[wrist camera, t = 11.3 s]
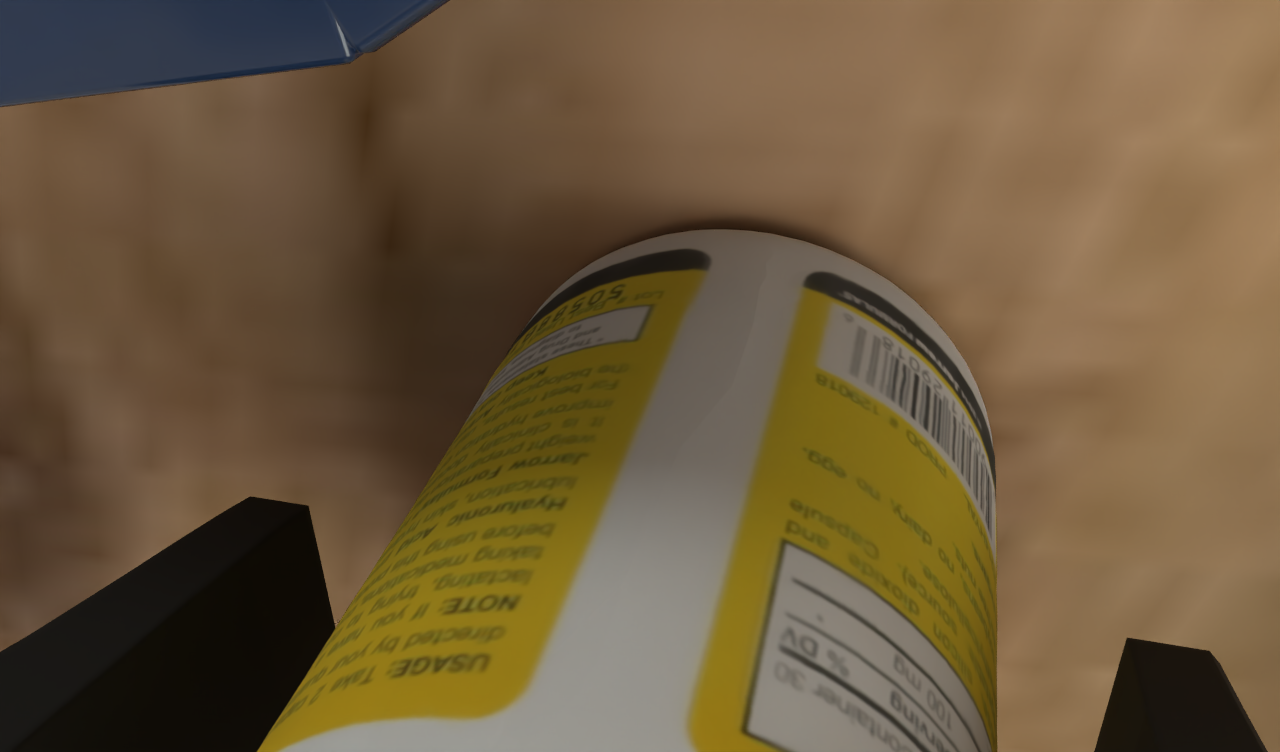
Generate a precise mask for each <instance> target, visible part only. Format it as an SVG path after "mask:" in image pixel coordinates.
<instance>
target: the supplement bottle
mask: <svg viewBox="0 0 1280 752" xmlns="http://www.w3.org/2000/svg"><path fill="white" fill-rule="evenodd" d="M996 588H997V519H996V472H995V455H994V451H993V442H992V434H991V429H990V425H989V421H988V416H987V412H986V408H985V405H984V402H983V400H982V397H981V394H980V391H979V389H978V386H977V384H976V382H975V380H974V378H973V376H972V374H971V372H970V370H969V368H968V366H967V364H966V362H965V360H964V359H963V357H962V356H961V354H960V353H959V351H958V350H957V348H956V347H955V345H954V344H953V342H952V341H951V339H950V338H949V337H948V336H947V334H946V333H945V332H944V331H943V330H942V329H941V327H940V326H939V325H938V324H937V323H936V322H935V320H934V319H933V318H932V317H931V316H930V315H929V314H928V313H927V312H926V311H925V310H924V309H923V308H922V307H921V306H920V305H919V304H918V303H917V302H916V301H915V300H913V299H912V298H911V297H910V296H908V295H907V294H906V293H905V292H903V291H902V290H901V289H900V288H898V287H897V286H896V285H894V284H893V283H892V282H891V281H889V280H887V279H886V278H884V277H882V276H881V275H879V274H877V273H876V272H874V271H872V270H871V269H869V268H867V267H865V266H863V265H861V264H860V263H858V262H856V261H854V260H852V259H849V258H847V257H845V256H843V255H840V254H838V253H836V252H834V251H832V250H829V249H826V248H823V247H820V246H817V245H814V244H811V243H808V242H805V241H802V240H798V239H793V238H789V237H784V236H780V235H776V234H772V233H764V232H756V231H747V230H729V229H711V230H693V231H686V232H679V233H673V234H667V235H663V236H659V237H655V238H651V239H647V240H644V241H641V242H638V243H635V244H632V245H629V246H626V247H623V248H621V249H618V250H616V251H614V252H612V253H610V254H607V255H606V256H604V257H602V258H600V259H598V260H596V261H594V262H592V263H591V264H589V265H588V266H586V267H585V268H583V269H582V270H580V271H579V272H577V273H576V274H574V275H573V276H572V277H571V278H569V279H568V280H567V281H566V282H565V283H564V284H562V285H561V286H560V287H559V288H558V289H557V290H556V291H555V292H554V293H553V294H552V295H551V296H550V297H549V298H548V299H547V300H546V301H545V302H544V303H543V304H542V306H541V307H540V308H539V309H538V311H537V312H536V313H535V314H534V316H533V317H532V318H531V320H530V321H529V322H528V323H527V325H526V326H525V328H524V329H523V331H522V332H521V334H520V335H519V337H518V338H517V339H516V341H515V342H514V344H513V345H512V347H511V348H510V350H509V351H508V353H507V355H506V357H505V359H504V360H503V361H502V363H501V364H500V365H499V367H498V368H497V370H496V371H495V373H494V374H493V376H492V377H491V379H490V381H489V382H488V384H487V385H486V387H485V389H484V391H483V393H482V395H481V397H480V398H479V400H478V402H477V403H476V405H475V407H474V408H473V410H472V412H471V413H470V415H469V417H468V418H467V420H466V422H465V423H464V425H463V427H462V428H461V430H460V432H459V433H458V435H457V436H456V438H455V439H454V441H453V443H452V444H451V446H450V447H449V449H448V451H447V452H446V454H445V456H444V457H443V459H442V460H441V462H440V463H439V465H438V466H437V468H436V469H435V471H434V473H433V474H432V476H431V478H430V479H429V481H428V483H427V484H426V486H425V488H424V489H423V491H422V492H421V494H420V495H419V497H418V498H417V500H416V502H415V504H414V506H413V507H412V509H411V510H410V512H409V513H408V515H407V516H406V518H405V520H404V521H403V523H402V524H401V526H400V527H399V529H398V530H397V532H396V534H395V535H394V537H393V538H392V540H391V542H390V543H389V545H388V546H387V548H386V549H385V551H384V552H383V554H382V556H381V557H380V559H379V560H378V562H377V564H376V565H375V567H374V569H373V570H372V572H371V573H370V575H369V577H368V578H367V580H366V581H365V583H364V584H363V586H362V587H361V589H360V590H359V592H358V593H357V595H356V596H355V598H354V600H353V601H352V603H351V604H350V606H349V607H348V609H347V610H346V612H345V614H344V615H343V617H342V619H341V620H340V622H339V623H338V625H337V627H336V628H335V630H334V632H333V633H332V635H331V637H330V638H329V640H328V641H327V643H326V644H325V646H324V647H323V649H322V651H321V652H320V654H319V655H318V657H317V658H316V660H315V662H314V663H313V665H312V667H311V668H310V670H309V671H308V673H307V675H306V676H305V678H304V680H303V681H302V683H301V684H300V686H299V687H298V689H297V690H296V692H295V693H294V695H293V696H292V698H291V700H290V701H289V703H288V704H287V706H286V707H285V709H284V710H283V712H282V713H281V715H280V716H279V718H278V719H277V721H276V723H275V724H274V726H273V727H272V729H271V730H270V732H269V733H268V735H267V736H266V738H265V740H264V741H263V743H262V744H261V746H260V748H259V749H258V751H257V752H997V593H996Z"/></svg>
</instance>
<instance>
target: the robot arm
mask: <svg viewBox="0 0 1280 752" xmlns="http://www.w3.org/2000/svg"><path fill="white" fill-rule="evenodd" d="M334 630H335V624H334V619H333V615H332V610H331V606H330V601H329V597H328V592H327V588H326V583H325V579H324V574H323V570H322V565H321V561H320V556H319V551H318V547H317V542H316V538H315V533H314V529H313V524H312V520H311V515H310V511H309V506H307V505H300V504H294V503H288V502H282V501H276V500H269V499H263V498H257V497H251V496H250V497H248V498H247V499H245V500H243V501H241V502H240V503H238V504H236V505H235V506H233V507H231V508H229V509H228V510H226V511H224V512H223V513H221V514H219V515H218V516H216V517H214V518H213V519H211V520H210V521H208V522H206V523H205V524H203V525H202V526H200V527H198V528H197V529H195V530H194V531H192V532H191V533H189V534H187V535H186V536H184V537H183V538H181V539H180V540H178V541H176V542H175V543H173V544H172V545H170V546H169V547H167V548H166V549H164V550H162V551H161V552H159V553H158V554H156V555H155V556H153V557H152V558H150V559H148V560H147V561H145V562H144V563H142V564H141V565H139V566H138V567H136V568H134V569H133V570H131V571H130V572H128V573H127V574H125V575H124V576H122V577H121V578H119V579H117V580H116V581H114V582H113V583H111V584H109V585H108V586H106V587H105V588H103V589H102V590H100V591H98V592H97V593H95V594H94V595H92V596H90V597H89V598H87V599H86V600H84V601H83V602H81V603H79V604H78V605H76V606H75V607H73V608H71V609H70V610H68V611H67V612H65V613H64V614H62V615H60V616H59V617H57V618H56V619H54V620H52V621H51V622H49V623H48V624H46V625H45V626H43V627H41V628H40V629H38V630H37V631H35V632H33V633H32V634H30V635H28V636H27V637H25V638H23V639H22V640H20V641H18V642H17V643H15V644H13V645H11V646H10V647H8V648H6V649H5V650H3V651H1V652H0V752H257V751H258V749H259V748H260V746H261V744H262V743H263V741H264V740H265V738H266V736H267V735H268V733H269V732H270V730H271V729H272V727H273V726H274V724H275V723H276V721H277V719H278V718H279V716H280V715H281V713H282V712H283V710H284V709H285V707H286V706H287V704H288V703H289V701H290V700H291V698H292V696H293V695H294V693H295V692H296V690H297V689H298V687H299V686H300V684H301V683H302V681H303V680H304V678H305V676H306V675H307V673H308V671H309V670H310V668H311V667H312V665H313V663H314V662H315V660H316V658H317V657H318V655H319V654H320V652H321V651H322V649H323V647H324V646H325V644H326V643H327V641H328V640H329V638H330V637H331V635H332V633H333V632H334ZM1094 752H1268V751H1267V750H1266V748H1265V746H1264V744H1263V743H1262V741H1261V739H1260V737H1259V735H1258V734H1257V732H1256V730H1255V728H1254V726H1253V725H1252V723H1251V721H1250V719H1249V717H1248V715H1247V714H1246V712H1245V710H1244V708H1243V706H1242V704H1241V702H1240V701H1239V699H1238V697H1237V695H1236V693H1235V691H1234V689H1233V687H1232V686H1231V684H1230V682H1229V680H1228V678H1227V676H1226V674H1225V672H1224V670H1223V668H1222V666H1221V665H1220V663H1219V662H1218V661H1217V660H1216V658H1215V657H1214V656H1213V655H1212V654H1211V652H1210V651H1207V650H1200V649H1194V648H1188V647H1182V646H1176V645H1169V644H1163V643H1157V642H1151V641H1145V640H1138V639H1132V638H1127V639H1126V643H1125V646H1124V650H1123V653H1122V657H1121V660H1120V664H1119V667H1118V671H1117V674H1116V678H1115V681H1114V685H1113V688H1112V692H1111V695H1110V699H1109V702H1108V706H1107V709H1106V713H1105V716H1104V720H1103V723H1102V727H1101V730H1100V734H1099V737H1098V741H1097V744H1096V748H1095V751H1094Z"/></svg>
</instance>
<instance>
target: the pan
mask: <svg viewBox="0 0 1280 752" xmlns="http://www.w3.org/2000/svg"><path fill="white" fill-rule="evenodd" d="M448 1H450V0H0V107H7V106H15V105H23V104H31V103H39V102H47V101H55V100H63V99H71V98H79V97H87V96H95V95H103V94H111V93H119V92H127V91H135V90H144V89H152V88H160V87H168V86H176V85H184V84H192V83H200V82H208V81H216V80H224V79H232V78H240V77H248V76H256V75H264V74H272V73H280V72H288V71H296V70H304V69H312V68H320V67H328V66H336V65H344V64H350V63H351V62H353V61H354V60H356V59H357V58H359V57H360V56H361V55H363V54H364V53H371V52H375V51H377V50H378V49H380V48H381V47H383V46H384V45H386V44H387V43H389V42H390V41H391V40H393V39H394V38H396V37H397V36H399V35H400V34H402V33H403V32H405V31H406V30H407V29H409V28H410V27H412V26H413V25H415V24H416V23H418V22H419V21H421V20H422V19H424V18H425V17H426V16H428V15H429V14H431V13H432V12H434V11H435V10H437V9H438V8H440V7H441V6H442V5H444V4H445V3H447V2H448Z"/></svg>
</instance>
